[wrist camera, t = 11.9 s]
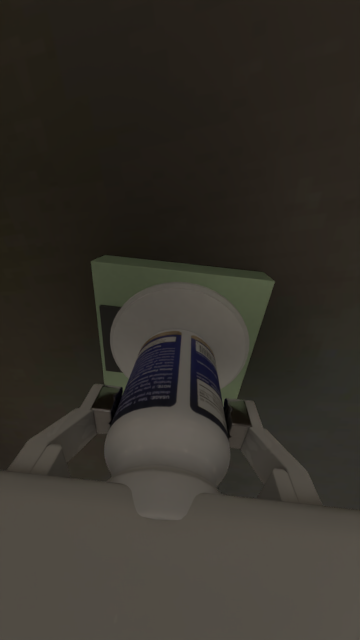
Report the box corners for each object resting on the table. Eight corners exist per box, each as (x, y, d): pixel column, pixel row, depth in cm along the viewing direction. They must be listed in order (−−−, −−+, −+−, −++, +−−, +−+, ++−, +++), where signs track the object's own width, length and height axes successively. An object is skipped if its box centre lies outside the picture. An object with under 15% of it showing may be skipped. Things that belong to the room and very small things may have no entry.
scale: (114, 374, 21) (102, 398, 18) (104, 254, 15) (85, 263, 12) (229, 387, 20) (235, 413, 18) (263, 271, 15) (279, 284, 12)
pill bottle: (137, 380, 16) (71, 567, 8) (143, 319, 14) (56, 491, 5) (205, 392, 17) (219, 590, 8) (224, 334, 14) (277, 527, 5)
